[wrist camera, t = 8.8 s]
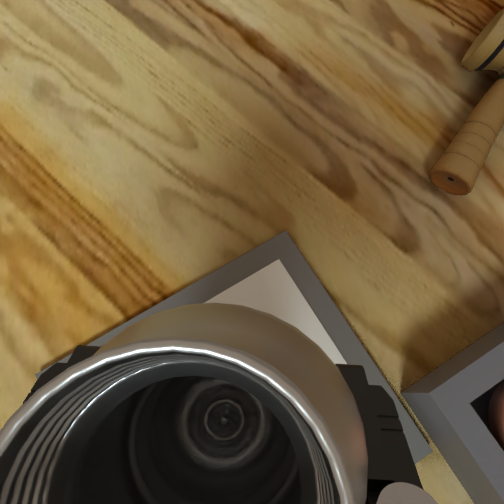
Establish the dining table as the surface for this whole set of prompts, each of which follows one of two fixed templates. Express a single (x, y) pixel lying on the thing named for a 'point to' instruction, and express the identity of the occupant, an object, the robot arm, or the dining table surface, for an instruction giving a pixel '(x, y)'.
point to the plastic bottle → (191, 419)
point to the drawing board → (284, 311)
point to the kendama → (476, 116)
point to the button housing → (465, 415)
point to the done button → (497, 415)
